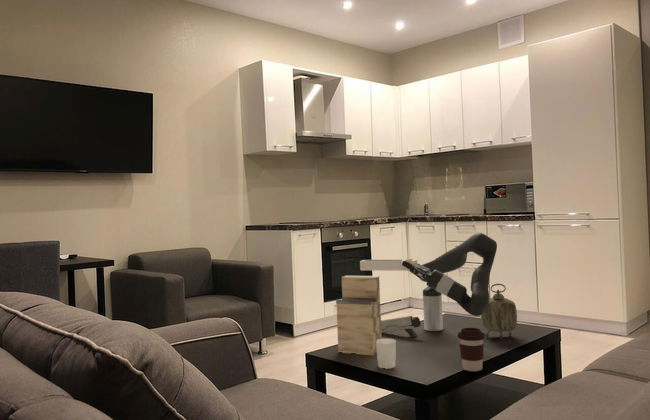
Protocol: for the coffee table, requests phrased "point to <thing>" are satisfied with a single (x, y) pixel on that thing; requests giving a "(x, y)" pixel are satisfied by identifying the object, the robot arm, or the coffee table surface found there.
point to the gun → (401, 325)
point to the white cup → (386, 353)
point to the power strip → (386, 265)
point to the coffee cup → (471, 348)
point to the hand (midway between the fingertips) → (404, 261)
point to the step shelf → (359, 315)
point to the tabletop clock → (499, 314)
